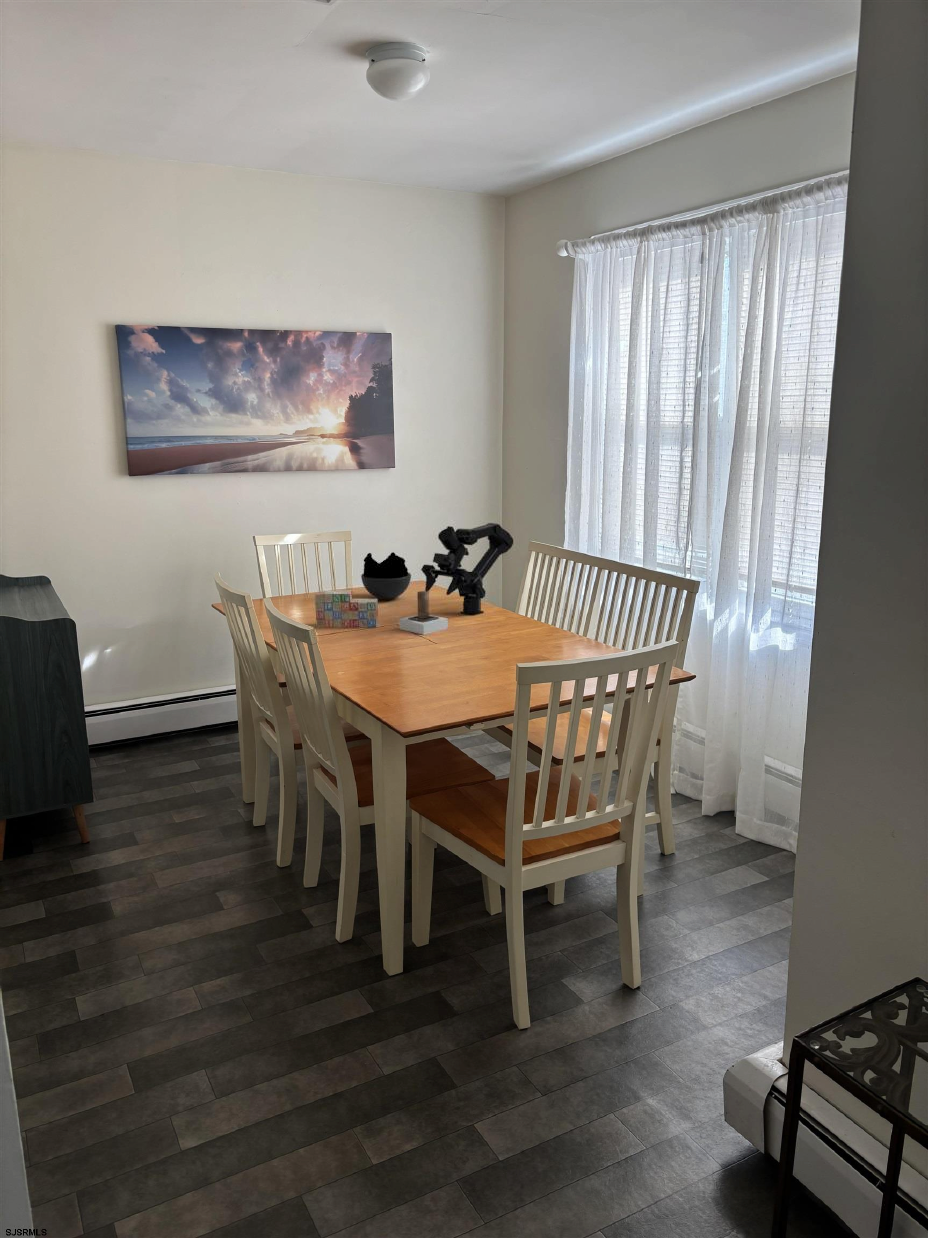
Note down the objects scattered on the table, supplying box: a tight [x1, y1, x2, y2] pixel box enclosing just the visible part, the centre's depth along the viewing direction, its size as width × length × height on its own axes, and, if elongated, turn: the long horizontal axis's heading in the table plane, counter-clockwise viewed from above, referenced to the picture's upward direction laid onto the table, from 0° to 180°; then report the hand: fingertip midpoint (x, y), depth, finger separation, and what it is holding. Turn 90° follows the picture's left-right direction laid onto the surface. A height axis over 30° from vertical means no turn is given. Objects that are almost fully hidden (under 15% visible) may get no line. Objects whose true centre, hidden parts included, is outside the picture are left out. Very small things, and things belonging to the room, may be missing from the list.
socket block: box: [398, 614, 449, 635], centre depth 315 cm, size 12×12×4 cm
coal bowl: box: [360, 552, 412, 600], centre depth 363 cm, size 20×20×19 cm
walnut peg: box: [416, 590, 430, 620], centre depth 314 cm, size 4×4×13 cm
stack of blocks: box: [314, 590, 379, 628], centre depth 319 cm, size 21×6×12 cm, turn 88°
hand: (436, 593), depth 319 cm, fingers open, 9 cm apart
